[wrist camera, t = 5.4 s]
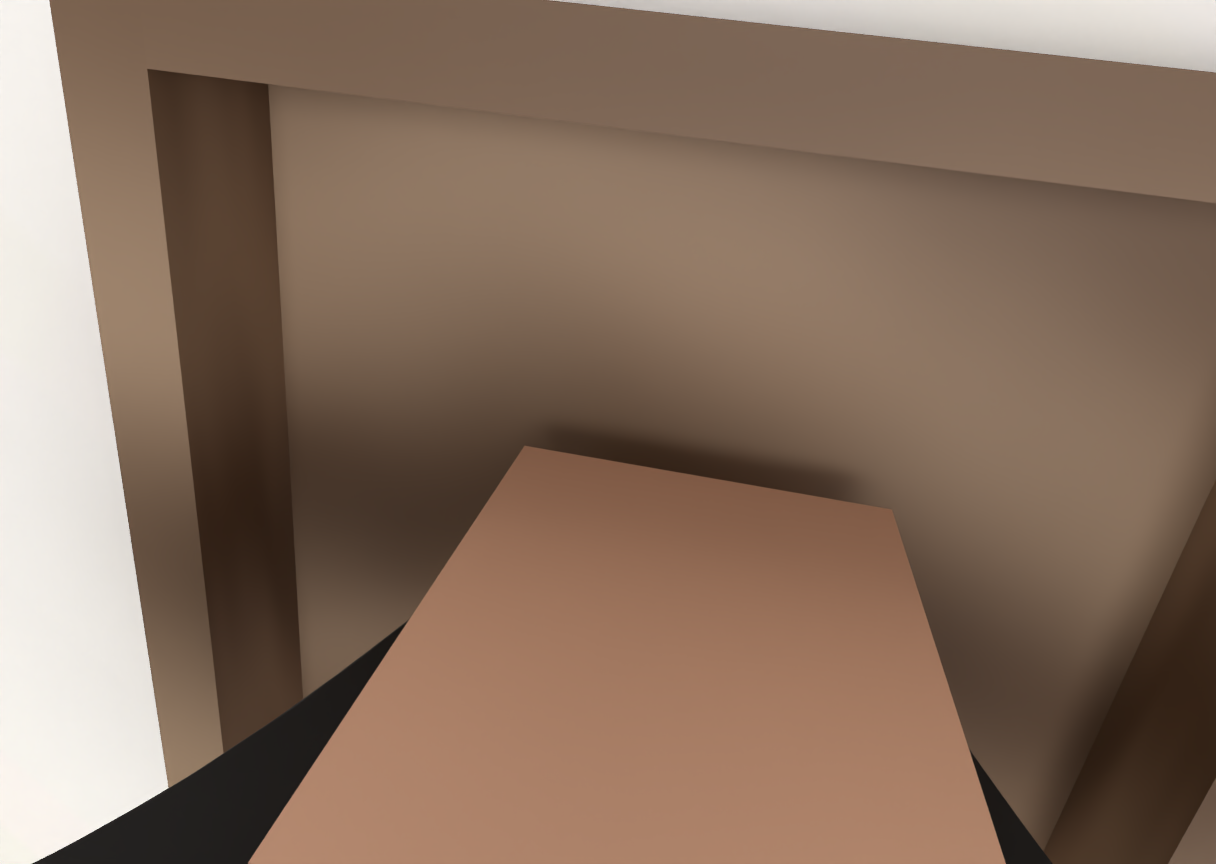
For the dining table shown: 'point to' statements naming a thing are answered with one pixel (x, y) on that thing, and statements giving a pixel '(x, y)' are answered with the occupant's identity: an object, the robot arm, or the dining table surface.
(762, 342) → the walnut tray
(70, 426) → the dining table surface
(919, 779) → the terracotta block
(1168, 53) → the dining table surface
